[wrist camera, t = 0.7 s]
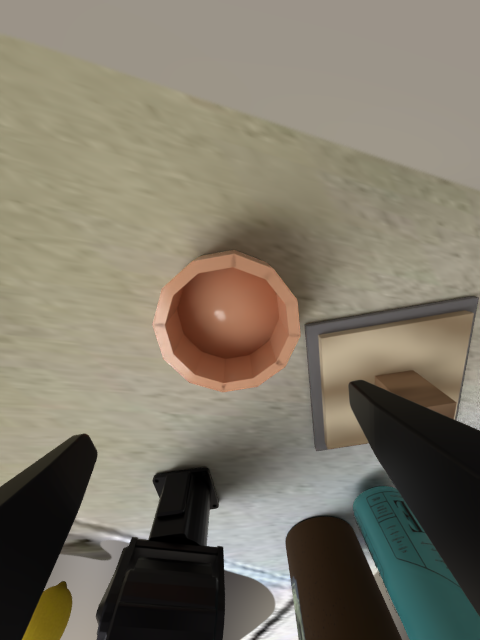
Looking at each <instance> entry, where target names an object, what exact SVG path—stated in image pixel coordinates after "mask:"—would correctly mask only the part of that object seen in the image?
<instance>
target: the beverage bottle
mask: <svg viewBox="0 0 480 640" xmlns="http://www.w3.org/2000/svg"><path fill="white" fill-rule="evenodd" d="M353 511H354V515H355V520H356V521H357V522H356V523H357V524H358V525H359V527H360V529H361V530H360V529H359V530H360V533H361V534H362V535H363V537H364V540H365V542H366V545H367V547H368V549H369V550H368V551H370V553H371V556H372V559H373V560H374V562H375V566H376V567H377V568H378V570H379V572H380V575H381V577H382V579H383V581H384V584H385V586H386V588H387V590H388V593H389V595H390V597H391V600H392V602H393V604H394V606H395V608H396V610H397V612H398V615H399V616H400V619H401V621H402V623H403V625H404V628H405V630H406V632H407V634H408V637H409V639H410V640H480V617H479V615H478V614H477V612H476V610H475V609H474V607H473V606H472V604H471V603H470V601H469V600H468V598H467V597H466V595H465V593H464V592H463V590H462V589H461V587H460V586H459V584H458V583H457V581H456V580H455V578H454V576H453V575H452V573H451V572H450V570H449V569H448V567H447V566H446V564H445V563H444V561H443V559H442V558H441V556H440V555H439V553H438V552H437V550H436V549H435V547H434V545H433V544H432V542H431V541H430V539H429V538H428V536H427V535H426V533H425V532H424V530H423V528H422V527H421V525H420V524H419V522H418V521H417V519H416V518H415V516H414V515H413V513H412V511H411V510H410V508H409V507H408V505H407V504H406V502H405V501H404V499H403V498H402V496H401V494H400V493H399V491H398V490H397V489H396V488H393V487H389V486H379V487H374V488H371V489H368V490H366V491H364V492H363V493H361V494H360V495H359V496H358V497H357V498H356V499H355V501H354V504H353ZM370 553H369V554H370ZM377 568H376V569H377Z"/></svg>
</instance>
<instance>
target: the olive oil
mask: <svg viewBox="0 0 480 640" xmlns="http://www.w3.org/2000/svg"><path fill="white" fill-rule="evenodd" d="M286 551H287V557H288V564H289V571H290V578H291V586H292V593H293V600H294V607H295V614H296V622H297V629H298V637H299V640H402V639H401V636H400V634H399V632H398V630H397V627H396V625H395V623H394V621H393V619H392V616H391V614H390V612H389V610H388V608H387V605H386V603H385V601H384V598H383V596H382V594H381V592H380V590H379V588H378V585H377V583H376V581H375V578H374V576H373V574H372V571H371V569H370V567H369V564H368V562H367V560H366V557H365V555H364V553H363V551H362V548H361V546H360V544H359V541H358V539H357V537H356V534H355V532H354V530H353V528H352V527H351V526H350V525H349V524H348V523H347V522H345V521H344V520H342V519H339V518H335V517H328V516H322V517H314V518H310V519H307V520H305V521H302V522H300V523H299V524H297V525H296V526H294V527H293V528H292V529H291V530H290V532H289V533H288V535H287V537H286Z"/></svg>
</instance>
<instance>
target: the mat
mask: <svg viewBox="0 0 480 640" xmlns="http://www.w3.org/2000/svg"><path fill="white" fill-rule="evenodd" d="M478 298H479V297H475V296H471V297H465V298H459V299H453V300H447V301H441V302H435V303H429V304H423V305H417V306H411V307H406V308H400V309H394V310H388V311H382V312H376V313H370V314H364V315H358V316H352V317H347V318H341V319H335V320H329V321H323V322H317V323H311V324H305V335H306V347H307V359H308V371H309V383H310V395H311V407H312V419H313V431H314V443H315V449H316V451H321V450H328V449H327V446H326V444H325V435H324V419H323V404H322V388H321V372H320V356H319V340H318V335H321V334H327V333H333V332H339V331H345V330H351V329H356V328H362V327H368V326H374V325H380V324H386V323H392V322H398V321H404V320H410V319H416V318H422V317H428V316H434V315H440V314H446V313H452V312H458V311H464V310H466V311H469V312H472V313H474V316H473V321H472V327H471V332H470V338H469V343H468V349H467V355H466V360H465V366H464V371H463V377H462V382H461V388H460V393H459V399H458V405H457V410H456V416H455V420H456V419H457V414H458V408H459V403H460V397H461V392H462V386H463V381H464V375H465V370H466V364H467V359H468V353H469V348H470V342H471V337H472V331H473V326H474V320H475V315H476V309H477V304H478ZM360 445H361V444H360ZM353 446H354V445H353ZM347 447H348V446H347ZM340 448H341V447H340Z"/></svg>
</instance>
